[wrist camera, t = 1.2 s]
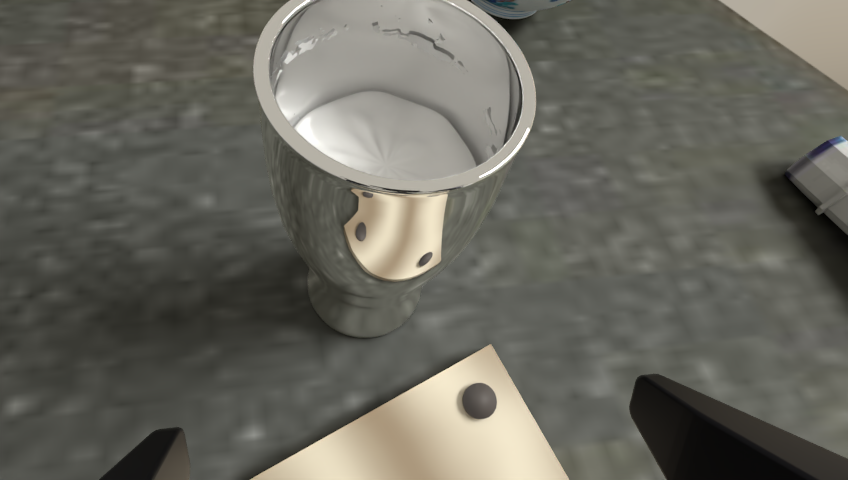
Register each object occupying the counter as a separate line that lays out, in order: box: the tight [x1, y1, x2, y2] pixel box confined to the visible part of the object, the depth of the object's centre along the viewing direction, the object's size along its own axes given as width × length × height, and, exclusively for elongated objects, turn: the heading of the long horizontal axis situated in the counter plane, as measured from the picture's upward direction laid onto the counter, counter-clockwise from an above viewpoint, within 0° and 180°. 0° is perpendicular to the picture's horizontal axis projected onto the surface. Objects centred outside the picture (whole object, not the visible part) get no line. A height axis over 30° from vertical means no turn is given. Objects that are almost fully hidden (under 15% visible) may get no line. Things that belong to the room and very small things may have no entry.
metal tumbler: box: [253, 0, 536, 338], centre depth 17 cm, size 7×7×15 cm
